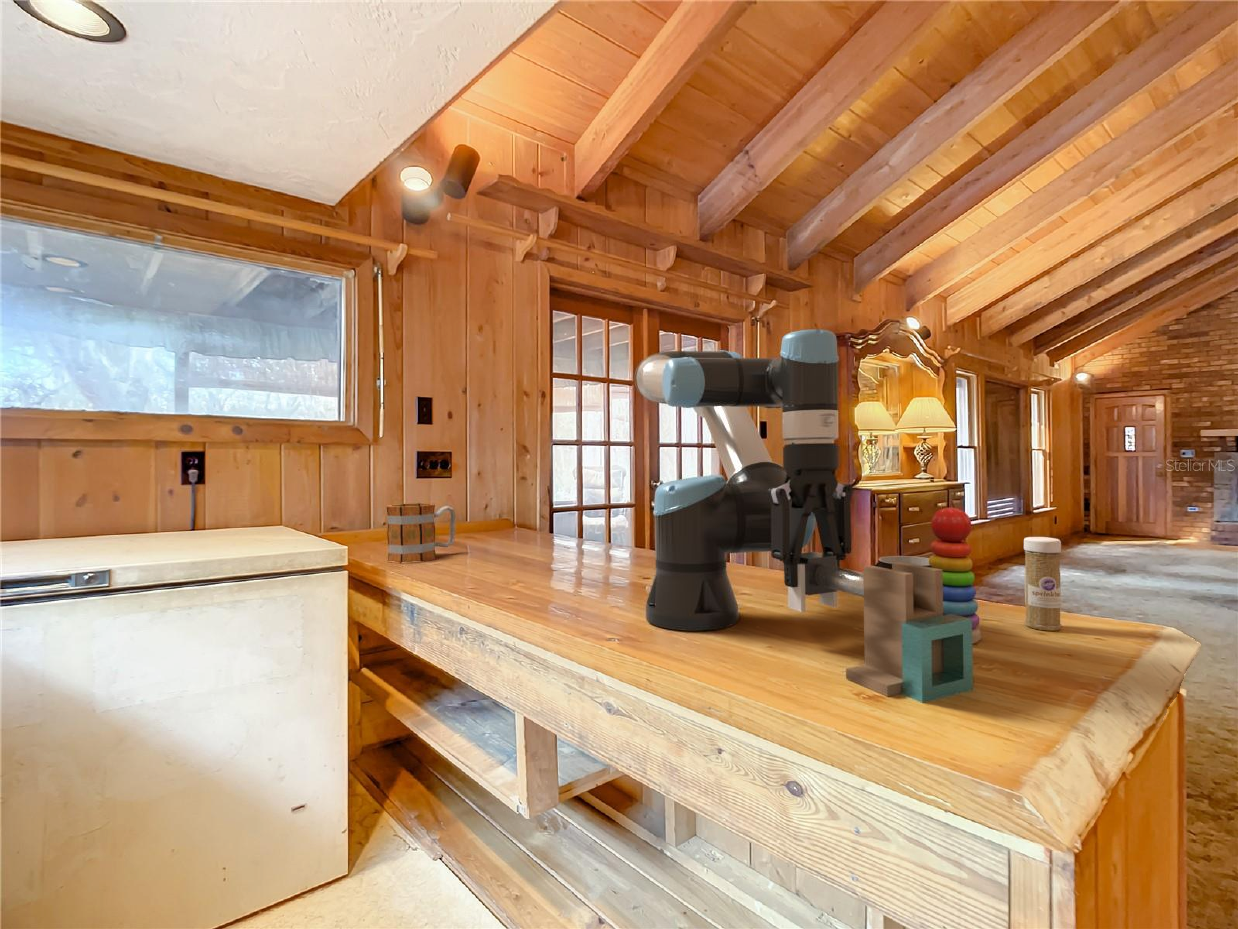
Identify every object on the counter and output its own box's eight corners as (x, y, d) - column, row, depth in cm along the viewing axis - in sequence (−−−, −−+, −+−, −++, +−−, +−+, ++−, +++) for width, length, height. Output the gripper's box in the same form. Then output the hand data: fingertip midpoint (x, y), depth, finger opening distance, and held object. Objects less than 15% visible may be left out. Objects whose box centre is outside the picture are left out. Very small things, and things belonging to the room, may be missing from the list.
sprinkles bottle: (1038, 632, 88) (1037, 540, 88) (1017, 623, 92) (1016, 536, 92) (1069, 631, 88) (1068, 539, 88) (1047, 622, 92) (1046, 535, 92)
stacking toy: (930, 646, 83) (928, 510, 82) (910, 629, 90) (908, 505, 90) (992, 647, 81) (990, 509, 81) (966, 630, 89) (964, 505, 89)
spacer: (902, 695, 66) (901, 622, 66) (952, 682, 69) (951, 613, 69) (922, 703, 64) (921, 628, 64) (973, 690, 67) (971, 618, 67)
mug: (396, 565, 157) (395, 507, 156) (379, 559, 167) (377, 505, 167) (466, 556, 169) (465, 503, 169) (445, 551, 180) (444, 501, 179)
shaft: (789, 589, 85) (788, 554, 85) (816, 586, 87) (816, 551, 87) (890, 618, 69) (889, 575, 69) (920, 613, 71) (920, 571, 71)
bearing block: (846, 678, 71) (844, 568, 71) (917, 662, 76) (916, 559, 76) (887, 696, 66) (885, 577, 66) (961, 678, 71) (960, 567, 70)
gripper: (776, 442, 77) (778, 622, 77) (879, 441, 85) (881, 605, 85) (741, 443, 84) (743, 609, 84) (839, 442, 91) (841, 594, 92)
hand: (812, 606), depth 85 cm, fingers closed on shaft, 5 cm apart
